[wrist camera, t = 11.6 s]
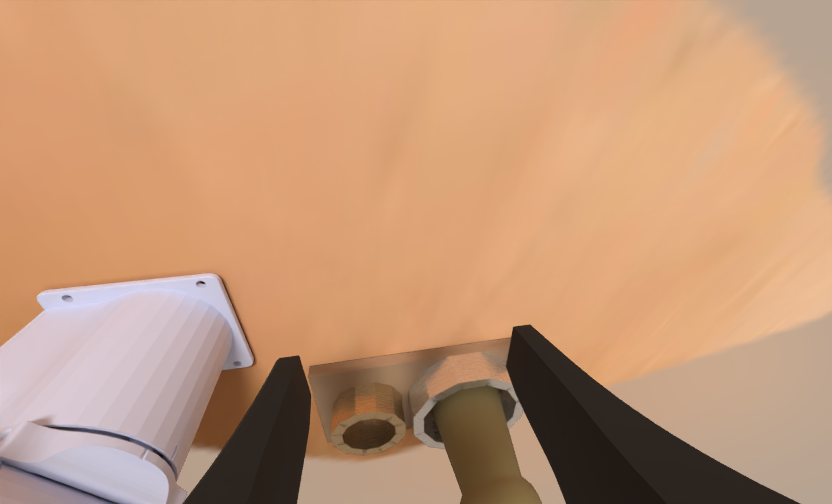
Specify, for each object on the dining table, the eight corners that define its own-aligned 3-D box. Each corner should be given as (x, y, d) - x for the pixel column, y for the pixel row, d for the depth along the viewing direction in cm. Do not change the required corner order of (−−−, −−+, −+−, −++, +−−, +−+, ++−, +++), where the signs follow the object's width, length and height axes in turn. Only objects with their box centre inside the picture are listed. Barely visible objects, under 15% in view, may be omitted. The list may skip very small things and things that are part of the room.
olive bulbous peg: (495, 397, 30) (560, 555, 20) (431, 415, 29) (467, 582, 20) (492, 354, 26) (567, 518, 17) (419, 373, 26) (456, 550, 17)
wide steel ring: (410, 428, 30) (415, 457, 28) (407, 362, 25) (412, 390, 23) (504, 412, 31) (516, 438, 29) (519, 345, 26) (533, 371, 24)
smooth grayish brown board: (328, 431, 30) (327, 442, 29) (309, 366, 25) (308, 377, 24) (505, 401, 32) (509, 411, 31) (518, 336, 27) (524, 345, 26)
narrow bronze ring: (338, 429, 28) (337, 460, 26) (328, 389, 25) (326, 419, 23) (403, 418, 29) (406, 447, 27) (400, 378, 26) (404, 406, 24)
